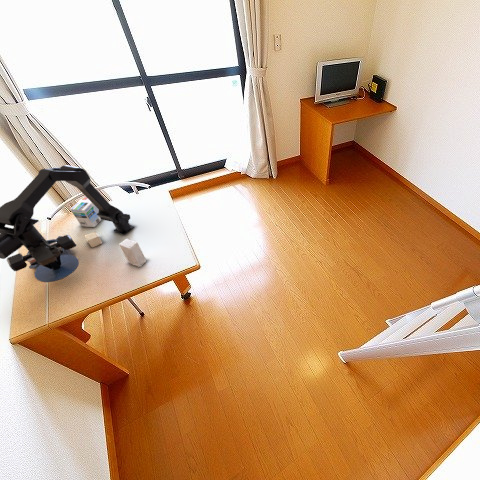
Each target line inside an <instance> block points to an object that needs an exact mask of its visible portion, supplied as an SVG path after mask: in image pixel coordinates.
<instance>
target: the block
mask: <svg viewBox="0 0 480 480" xmlns="http://www.w3.org/2000/svg"><path fill="white" fill-rule="evenodd" d="M83 237H84V239H85V240H86V241H87V243H88V244H89V246H90V248H94V247H97V246H99V245H102V244H103V240H102V239H101V237H100V236H99V235H98V233H97V232H96V231H92V232H90V233H88V234H85V235H84V236H83Z"/></svg>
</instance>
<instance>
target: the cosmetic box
mask: <svg viewBox="0 0 480 480" xmlns="http://www.w3.org/2000/svg"><path fill="white" fill-rule="evenodd" d="M118 246H119V248H120V250H121V251H122V253H123V255H124V257H125V258H126V260H127V262H128V264H130V265H133V266H136V267H138V268H141V267H142V266H143V265H144V264H146V263H147V258H146V257H145V254H144V253H143V251H142V249H141V247H140V245H139V243H138V242H137V241H135V240H132V239H129V238H125V239H124V240H123V241H121V242H120V243H119V244H118Z"/></svg>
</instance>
